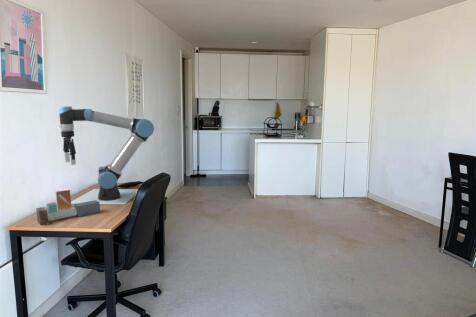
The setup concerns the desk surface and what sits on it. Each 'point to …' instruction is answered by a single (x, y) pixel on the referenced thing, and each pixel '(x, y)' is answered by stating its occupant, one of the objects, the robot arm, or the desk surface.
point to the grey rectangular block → (87, 208)
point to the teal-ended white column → (59, 211)
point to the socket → (42, 215)
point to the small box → (63, 198)
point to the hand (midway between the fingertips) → (70, 163)
